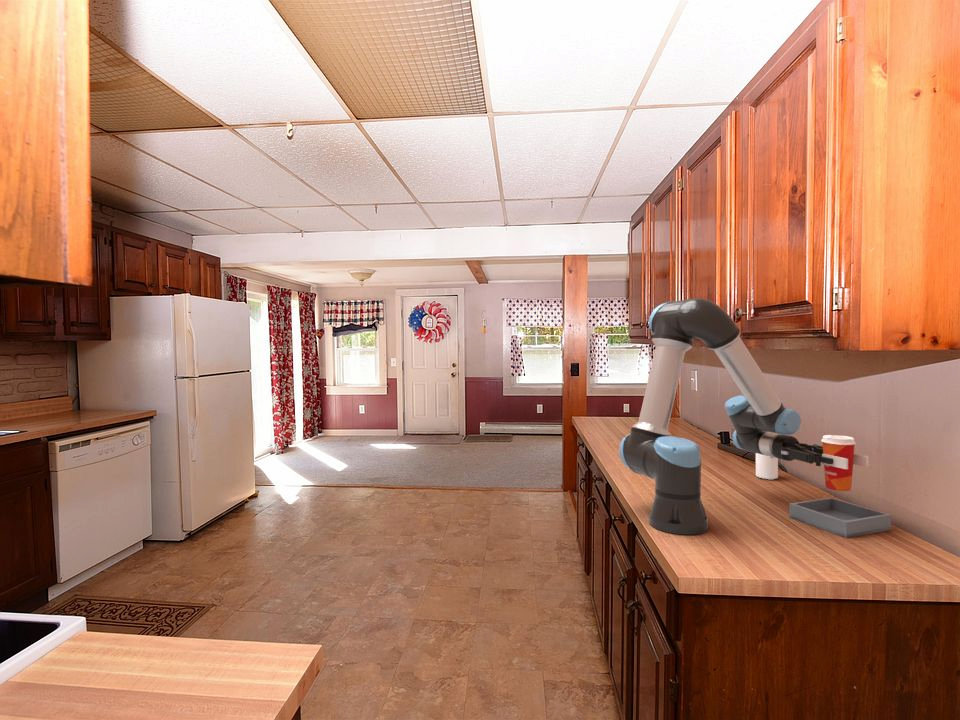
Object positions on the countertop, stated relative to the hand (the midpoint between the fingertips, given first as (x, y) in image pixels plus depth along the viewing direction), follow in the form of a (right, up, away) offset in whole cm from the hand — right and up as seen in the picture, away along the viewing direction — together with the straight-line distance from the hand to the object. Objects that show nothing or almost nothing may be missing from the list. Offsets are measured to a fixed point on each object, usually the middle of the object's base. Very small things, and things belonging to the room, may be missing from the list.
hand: (857, 462), depth 128 cm
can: (+7, -17, +52) cm, 55 cm away
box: (-1, -18, +5) cm, 18 cm away
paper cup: (-1, -8, +5) cm, 10 cm away
